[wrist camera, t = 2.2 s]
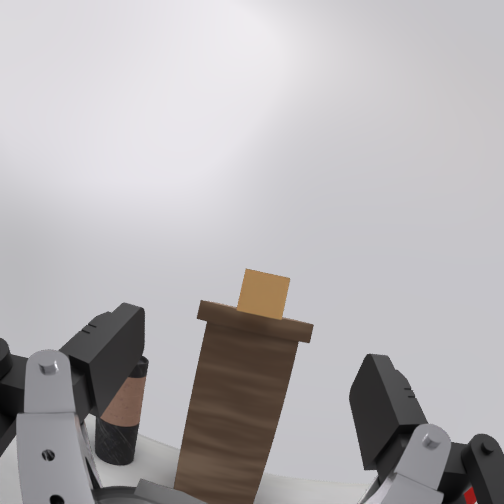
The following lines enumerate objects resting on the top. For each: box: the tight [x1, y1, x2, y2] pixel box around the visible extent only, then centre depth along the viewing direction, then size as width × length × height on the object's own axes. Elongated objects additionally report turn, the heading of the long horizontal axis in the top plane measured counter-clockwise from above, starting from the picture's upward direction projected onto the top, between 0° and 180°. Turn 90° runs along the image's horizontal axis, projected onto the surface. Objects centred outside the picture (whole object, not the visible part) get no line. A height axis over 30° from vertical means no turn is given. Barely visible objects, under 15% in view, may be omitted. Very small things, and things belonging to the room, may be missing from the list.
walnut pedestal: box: [174, 300, 314, 504], centre depth 35 cm, size 16×12×32 cm
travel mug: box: [95, 356, 149, 465], centre depth 41 cm, size 8×8×20 cm
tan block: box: [237, 269, 290, 320], centre depth 33 cm, size 26×3×3 cm, turn 179°
